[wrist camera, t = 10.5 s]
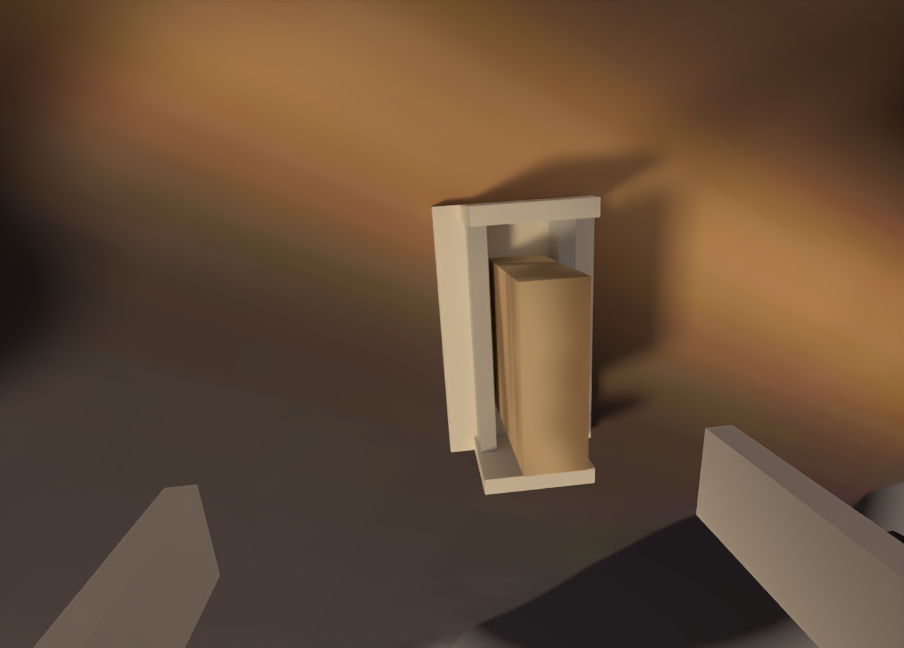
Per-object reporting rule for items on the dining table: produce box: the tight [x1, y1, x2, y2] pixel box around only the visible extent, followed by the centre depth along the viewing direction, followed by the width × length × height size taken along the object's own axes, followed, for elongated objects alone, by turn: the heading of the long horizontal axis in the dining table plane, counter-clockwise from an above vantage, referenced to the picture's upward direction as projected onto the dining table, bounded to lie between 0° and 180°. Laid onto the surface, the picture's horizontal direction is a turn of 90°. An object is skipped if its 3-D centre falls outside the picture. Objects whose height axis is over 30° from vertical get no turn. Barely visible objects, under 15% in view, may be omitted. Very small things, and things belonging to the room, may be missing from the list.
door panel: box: [489, 254, 591, 477], centre depth 31 cm, size 4×12×10 cm, turn 4°
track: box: [432, 195, 601, 495], centre depth 33 cm, size 12×20×7 cm, turn 4°
